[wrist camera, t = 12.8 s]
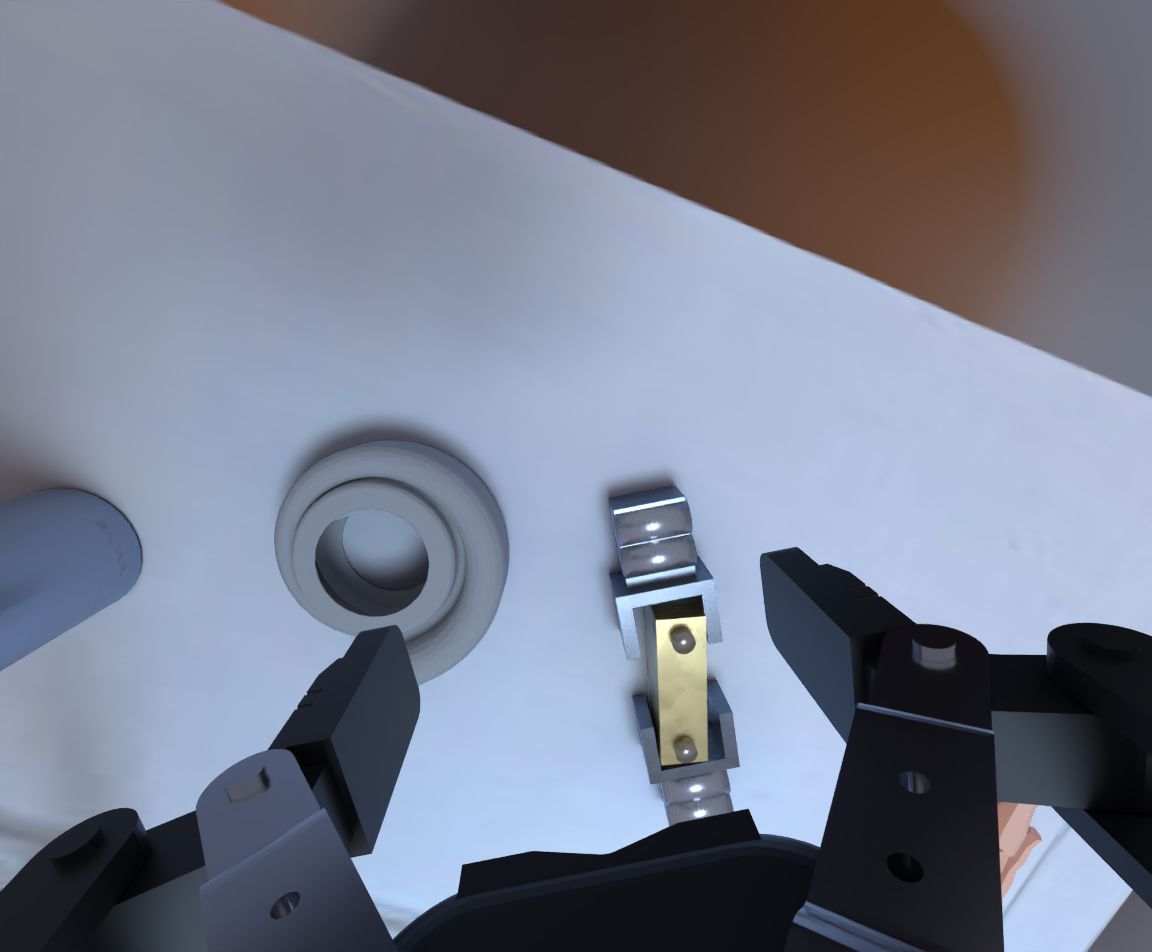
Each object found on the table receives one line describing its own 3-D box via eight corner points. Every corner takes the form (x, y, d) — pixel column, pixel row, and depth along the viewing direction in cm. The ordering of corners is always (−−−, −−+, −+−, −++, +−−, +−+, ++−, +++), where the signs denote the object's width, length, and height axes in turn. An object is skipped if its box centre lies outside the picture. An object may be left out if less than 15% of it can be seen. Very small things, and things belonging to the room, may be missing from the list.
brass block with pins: (649, 720, 46) (663, 773, 40) (643, 588, 43) (658, 626, 37) (691, 716, 46) (710, 769, 40) (688, 584, 43) (709, 621, 37)
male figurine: (1100, 737, 44) (1011, 994, 48) (1045, 701, 49) (968, 937, 53) (978, 721, 43) (897, 984, 47) (934, 687, 48) (863, 928, 52)
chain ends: (652, 803, 48) (661, 845, 44) (595, 500, 41) (600, 518, 37) (731, 788, 48) (748, 828, 44) (688, 482, 41) (702, 497, 37)
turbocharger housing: (446, 399, 40) (268, 491, 41) (423, 404, 33) (213, 512, 34) (552, 596, 43) (383, 677, 44) (550, 635, 36) (352, 729, 37)
